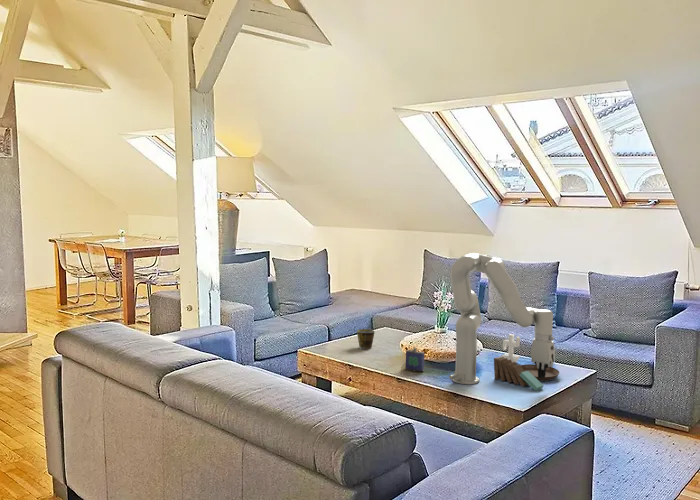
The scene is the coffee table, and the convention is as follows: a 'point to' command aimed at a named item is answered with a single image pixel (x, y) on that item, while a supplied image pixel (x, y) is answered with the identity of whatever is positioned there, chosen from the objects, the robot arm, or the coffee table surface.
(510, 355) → the figurine
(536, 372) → the plant saucer
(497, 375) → the domino
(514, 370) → the domino
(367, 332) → the ceramic cup
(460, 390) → the coffee table surface
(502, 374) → the domino
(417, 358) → the flask
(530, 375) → the tile
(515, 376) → the domino
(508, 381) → the domino
